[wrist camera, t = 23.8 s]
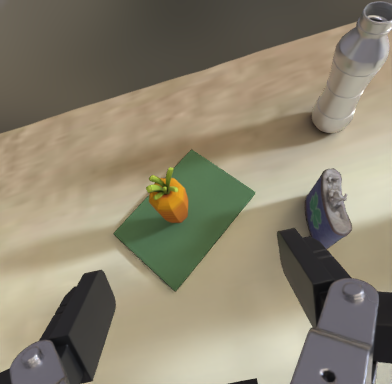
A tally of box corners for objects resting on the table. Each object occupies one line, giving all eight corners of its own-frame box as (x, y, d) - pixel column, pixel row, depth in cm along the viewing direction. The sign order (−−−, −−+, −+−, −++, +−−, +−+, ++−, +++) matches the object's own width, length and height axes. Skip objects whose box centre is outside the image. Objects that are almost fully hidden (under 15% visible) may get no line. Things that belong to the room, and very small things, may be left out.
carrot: (189, 200, 46) (170, 153, 33) (200, 226, 44) (184, 188, 31) (162, 211, 46) (131, 168, 33) (171, 238, 44) (142, 205, 30)
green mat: (255, 193, 46) (255, 192, 45) (175, 291, 42) (174, 291, 41) (192, 151, 51) (191, 149, 50) (115, 234, 47) (113, 233, 46)
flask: (331, 250, 41) (361, 230, 31) (310, 250, 41) (333, 231, 32) (320, 192, 45) (344, 159, 35) (301, 193, 45) (319, 160, 35)
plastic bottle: (313, 140, 49) (360, 37, 30) (305, 109, 51) (342, -2, 33) (352, 135, 48) (423, 27, 30) (341, 104, 51) (399, -12, 33)
